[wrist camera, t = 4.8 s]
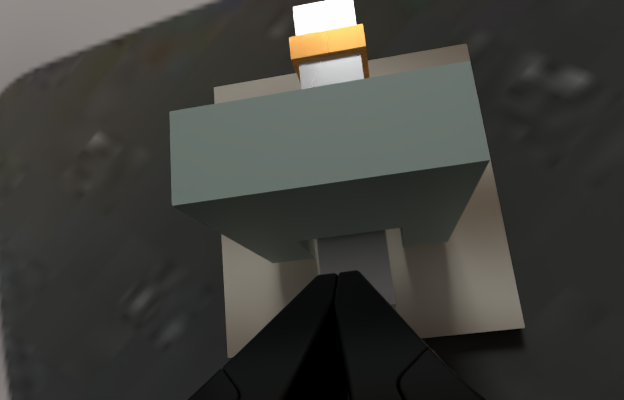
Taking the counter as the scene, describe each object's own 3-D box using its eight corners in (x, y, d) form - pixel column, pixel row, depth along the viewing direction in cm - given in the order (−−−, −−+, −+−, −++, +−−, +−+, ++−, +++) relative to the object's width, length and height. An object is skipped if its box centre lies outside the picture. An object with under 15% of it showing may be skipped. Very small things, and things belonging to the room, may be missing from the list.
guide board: (520, 328, 17) (524, 328, 17) (233, 357, 18) (227, 357, 18) (464, 51, 20) (466, 43, 19) (218, 94, 21) (213, 87, 21)
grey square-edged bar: (402, 309, 17) (403, 302, 14) (332, 317, 18) (315, 312, 14) (365, 49, 20) (357, -10, 17) (304, 60, 20) (285, 4, 17)
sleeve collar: (447, 241, 17) (490, 160, 9) (272, 263, 18) (172, 205, 10) (434, 165, 18) (463, 28, 10) (267, 189, 19) (168, 80, 11)
